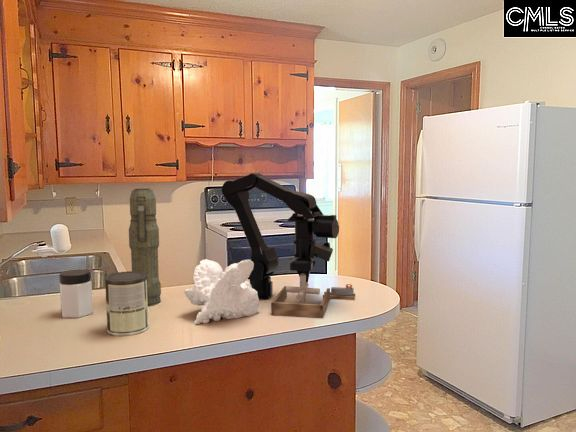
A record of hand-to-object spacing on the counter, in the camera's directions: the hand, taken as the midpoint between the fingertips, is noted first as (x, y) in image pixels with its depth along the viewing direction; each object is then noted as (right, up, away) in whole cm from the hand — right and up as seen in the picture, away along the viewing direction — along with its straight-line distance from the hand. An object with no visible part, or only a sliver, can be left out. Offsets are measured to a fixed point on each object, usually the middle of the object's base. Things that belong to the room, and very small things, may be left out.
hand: (305, 285), depth 145 cm
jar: (-66, -7, -11) cm, 67 cm away
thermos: (-49, -5, 0) cm, 49 cm away
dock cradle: (+3, -5, -3) cm, 7 cm away
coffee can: (-47, -8, -24) cm, 53 cm away
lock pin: (+12, -4, +5) cm, 14 cm away
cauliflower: (-24, -7, -13) cm, 28 cm away
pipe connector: (-1, -6, -4) cm, 7 cm away
